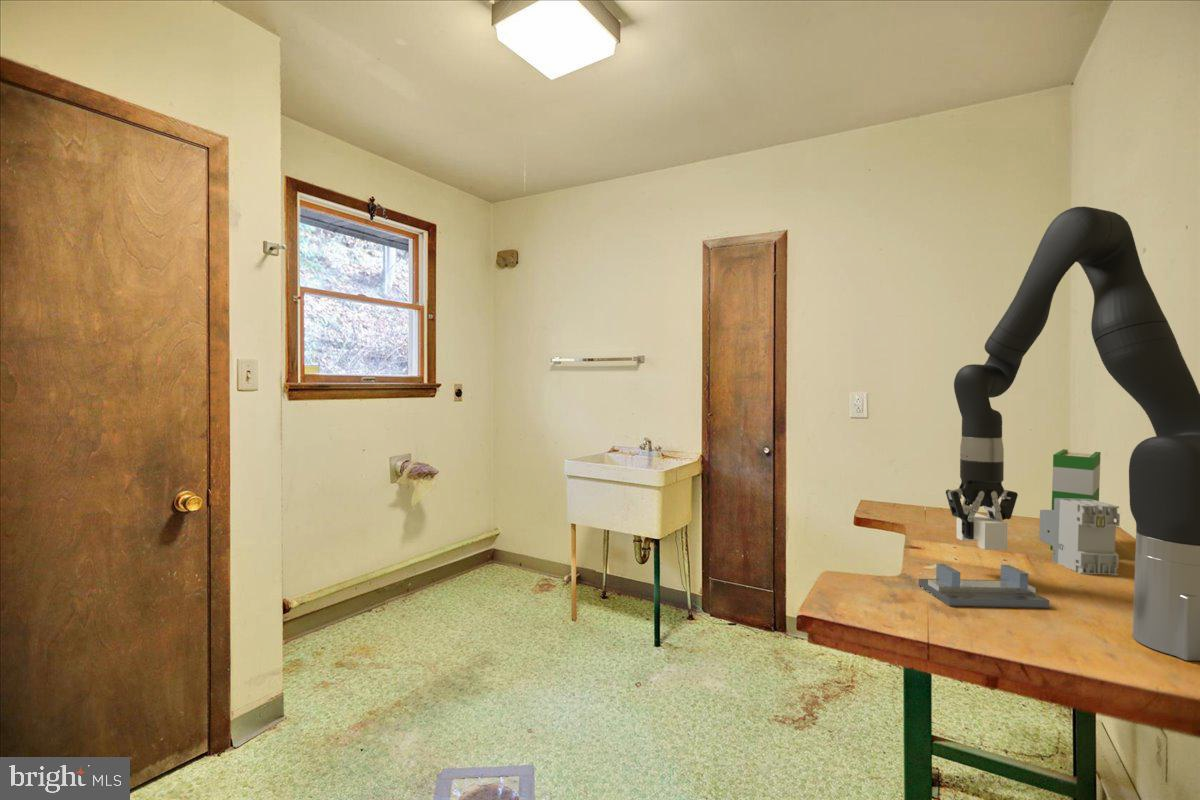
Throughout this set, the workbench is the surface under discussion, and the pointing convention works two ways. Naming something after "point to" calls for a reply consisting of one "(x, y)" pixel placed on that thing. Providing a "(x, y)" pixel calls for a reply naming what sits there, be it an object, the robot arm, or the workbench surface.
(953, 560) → the workbench surface
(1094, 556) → the circuit breaker
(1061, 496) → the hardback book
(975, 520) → the block
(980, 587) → the rail mount
